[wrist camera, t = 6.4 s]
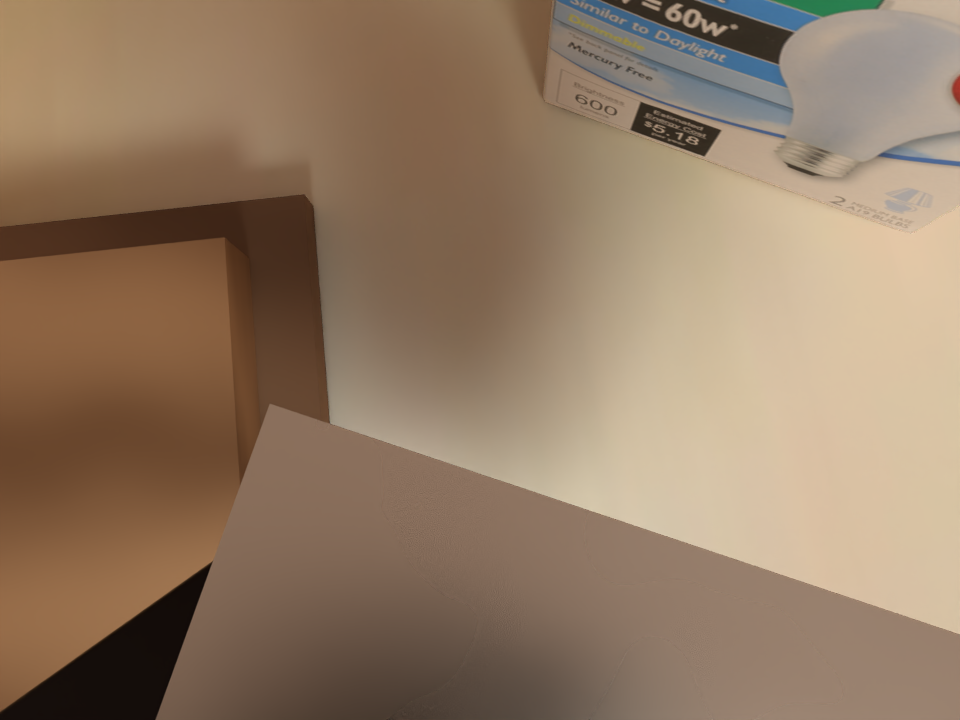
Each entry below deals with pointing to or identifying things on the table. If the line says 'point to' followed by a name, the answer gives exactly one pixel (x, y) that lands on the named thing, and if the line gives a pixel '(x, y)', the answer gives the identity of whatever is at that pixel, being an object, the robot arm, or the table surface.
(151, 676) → the robot arm
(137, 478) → the walnut stand
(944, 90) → the light bulb box
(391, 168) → the table surface
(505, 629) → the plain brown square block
